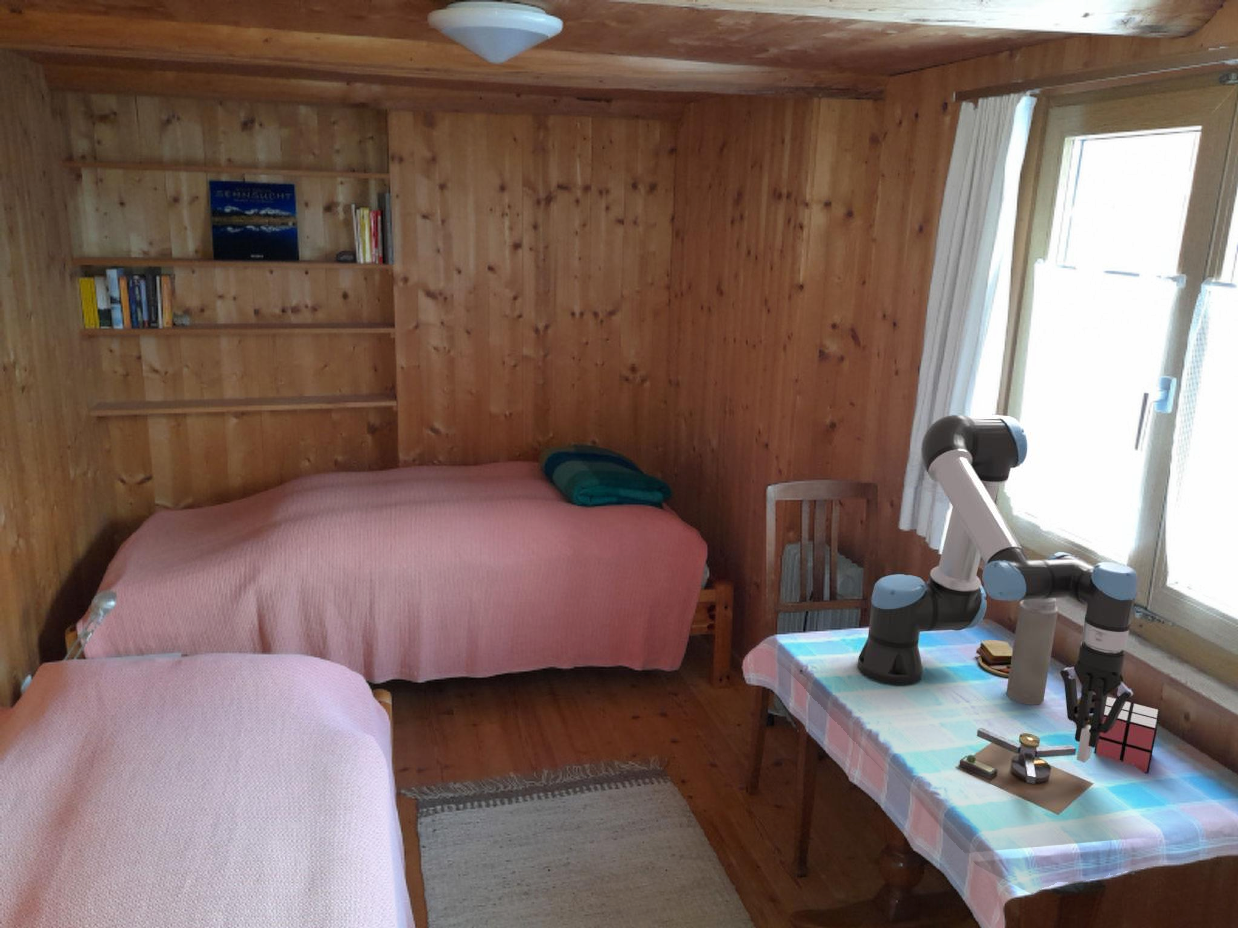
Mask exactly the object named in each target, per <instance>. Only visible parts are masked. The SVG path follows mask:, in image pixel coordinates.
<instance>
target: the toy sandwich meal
mask: <svg viewBox="0 0 1238 928" xmlns="http://www.w3.org/2000/svg"><path fill="white" fill-rule="evenodd" d="M1012 652H1013V647H1012V646H1010V644H1009V642H1008V641H1004V640H1003V641H1002V640H996V639H986V640H982V641H980V644H979V647H978V648H977V649H976V652H975V654H977V655H978V656H979V657H978V658H977V659H978V660H977V661H978V663H979V664H980V666H981V667H982V669H984V670H985V671H987V672H989V673H991V674H993V675H997V676H1000V677H1004V678H1009V672H1010V665H1011V659H1012Z"/></svg>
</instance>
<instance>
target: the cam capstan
mask: <svg viewBox="0 0 1238 928" xmlns="http://www.w3.org/2000/svg"><path fill="white" fill-rule="evenodd" d="M976 737H978V738H980V739H982V740H985V741H987V742H989V743H994V744H996V745H998V746H1000V747H1003V748H1005V749H1007V750H1009V751H1012V752H1014V753H1016V754H1019V755H1015V756H1013V757H1012V761H1011V767H1010V771H1011V773H1012V774H1013V775H1014V776H1015V777H1016V778H1018V779H1020V780H1022V781H1024V782H1027V783H1032V784H1044V783H1047V782H1048V781H1049V777H1050V771H1051V767H1050V765H1051V764H1049V763H1048V762H1047V761H1046V760H1045V759H1043V758H1053V757H1069V756H1076V753H1077V748H1076V747H1075V745H1073V744H1062V745H1061V744H1060V745H1050V746H1048V745H1047V746H1040V742H1041V740H1040V738H1039V737H1038V736H1037V735H1035V734H1032V733H1028V732H1027V733H1025V732H1024V733H1023V732H1022V733H1020V734H1019V738H1018V742H1019V743H1020V744H1019V743H1018V742H1015V741H1013V740H1011V739H1008V738H1006V737H1003V736H1002V735H999V734H997V733H995V732H993V731H990V730H987V729H985V728H983V727H980V728H978V729H977V731H976Z"/></svg>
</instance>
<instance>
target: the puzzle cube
mask: <svg viewBox="0 0 1238 928" xmlns="http://www.w3.org/2000/svg"><path fill="white" fill-rule="evenodd" d="M1116 699H1117V698H1114V697H1110V696H1108V697H1107V701H1106V707H1105V712H1104V718H1103V724H1104V722H1105V720H1106V718H1107V716H1108V714H1109V712H1110V710H1111V708H1112V706H1113V704H1114V702H1115V700H1116ZM1160 712H1161V711H1160V710H1159V709H1157V708H1153V707H1150V706H1145V705H1141V704H1137V703H1133V704H1132V702H1130V701H1126V702H1125V704H1124V706H1123V708H1122V710H1121V712H1120V714H1119V716H1118V718H1117V720H1116V722H1115V724H1114V726H1113V728H1112V729H1111V730H1110V731H1108V732H1107V733H1103V732H1100V736H1099V741H1098V744H1097V745H1096V746H1095V747H1094V752H1093V754H1096V755H1098V756H1102V757H1106V758H1109V759H1113V760H1116V761H1121V762H1123V763H1126V764H1130V765H1133V766H1134V767H1135V768H1137V769H1139V770H1140V771H1141V772H1142V773H1144V774H1149V773H1150V767H1151V762H1152V756H1153V750H1154V746H1155V740H1156V736H1157V730H1158V724H1159V717H1160Z"/></svg>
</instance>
